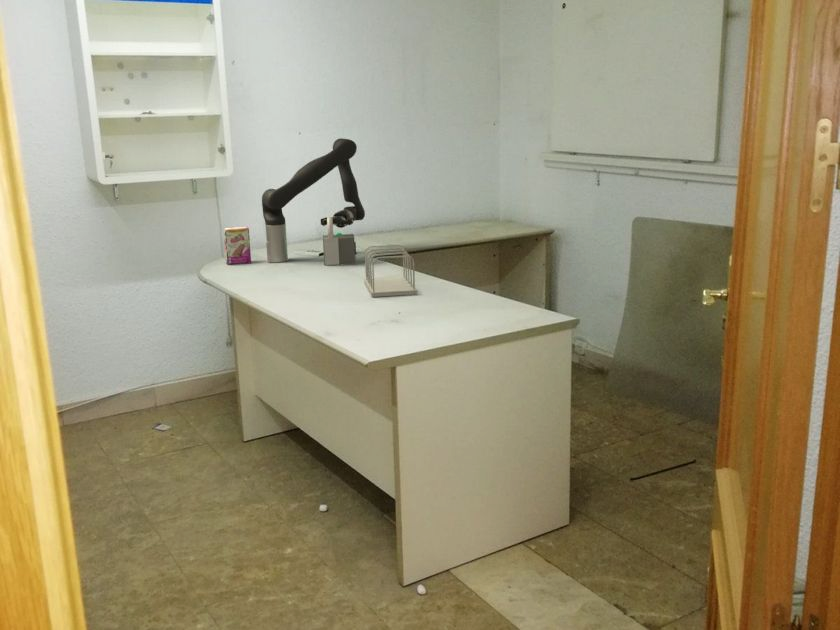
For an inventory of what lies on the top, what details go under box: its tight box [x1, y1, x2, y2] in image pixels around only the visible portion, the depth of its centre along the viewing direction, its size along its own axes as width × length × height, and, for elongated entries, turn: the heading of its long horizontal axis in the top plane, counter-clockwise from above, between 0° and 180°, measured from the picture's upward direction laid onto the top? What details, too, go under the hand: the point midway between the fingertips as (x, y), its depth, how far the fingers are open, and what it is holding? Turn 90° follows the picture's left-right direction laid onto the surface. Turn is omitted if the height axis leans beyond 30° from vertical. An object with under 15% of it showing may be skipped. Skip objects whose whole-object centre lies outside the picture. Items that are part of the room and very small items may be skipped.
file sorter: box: [363, 244, 418, 298], centre depth 320 cm, size 25×17×16 cm
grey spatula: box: [323, 217, 339, 266], centre depth 367 cm, size 6×2×21 cm, turn 97°
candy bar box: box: [222, 226, 252, 266], centre depth 378 cm, size 11×5×16 cm, turn 113°
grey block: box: [322, 233, 357, 266], centre depth 374 cm, size 15×10×12 cm
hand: (331, 223), depth 367 cm, fingers open, 8 cm apart
